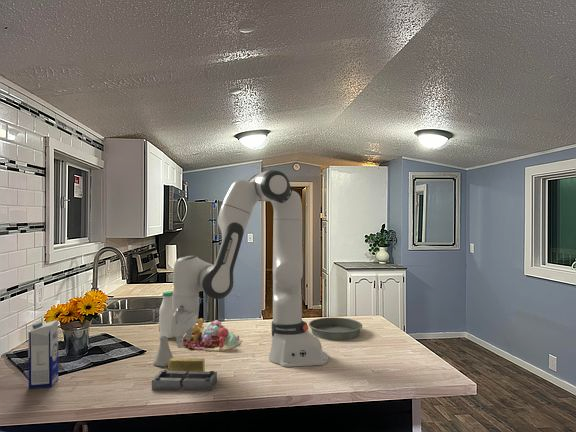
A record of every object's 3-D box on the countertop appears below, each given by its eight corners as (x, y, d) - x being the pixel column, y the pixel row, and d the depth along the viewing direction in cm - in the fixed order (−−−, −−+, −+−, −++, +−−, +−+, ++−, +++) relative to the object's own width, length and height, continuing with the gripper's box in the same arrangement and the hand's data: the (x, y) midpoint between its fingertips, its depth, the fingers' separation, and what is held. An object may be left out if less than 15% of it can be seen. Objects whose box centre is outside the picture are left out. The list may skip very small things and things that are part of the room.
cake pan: (298, 336, 195) (298, 326, 195) (323, 324, 216) (323, 315, 216) (349, 345, 182) (349, 334, 182) (370, 331, 203) (370, 321, 203)
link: (187, 380, 144) (187, 370, 144) (179, 390, 136) (179, 379, 136) (160, 379, 144) (160, 369, 144) (151, 389, 136) (151, 378, 136)
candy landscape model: (172, 350, 176) (172, 327, 176) (195, 333, 199) (195, 313, 199) (231, 353, 172) (231, 330, 172) (247, 336, 195) (247, 316, 195)
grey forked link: (217, 380, 143) (217, 370, 143) (211, 390, 135) (211, 380, 135) (190, 380, 144) (190, 370, 144) (183, 390, 136) (183, 379, 136)
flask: (163, 368, 155) (163, 340, 154) (149, 364, 158) (149, 337, 158) (178, 362, 161) (178, 335, 161) (164, 359, 165) (164, 332, 164)
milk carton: (51, 386, 139) (51, 324, 138) (28, 388, 137) (27, 325, 137) (58, 378, 146) (58, 319, 145) (36, 380, 144) (35, 320, 144)
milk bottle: (180, 335, 195) (180, 291, 195) (167, 340, 189) (167, 294, 188) (168, 333, 199) (168, 289, 199) (155, 337, 193) (155, 292, 193)
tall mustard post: (204, 372, 151) (204, 358, 151) (202, 375, 148) (202, 361, 148) (170, 372, 152) (170, 358, 151) (168, 375, 149) (168, 360, 149)
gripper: (185, 310, 139) (184, 353, 139) (202, 297, 159) (201, 335, 160) (166, 309, 139) (165, 352, 139) (185, 297, 160) (184, 334, 160)
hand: (184, 343), depth 150 cm, fingers open, 8 cm apart
